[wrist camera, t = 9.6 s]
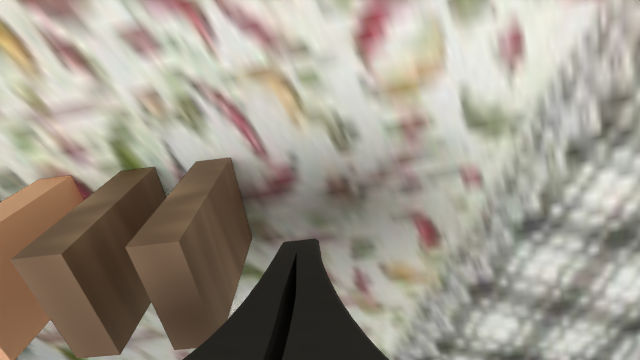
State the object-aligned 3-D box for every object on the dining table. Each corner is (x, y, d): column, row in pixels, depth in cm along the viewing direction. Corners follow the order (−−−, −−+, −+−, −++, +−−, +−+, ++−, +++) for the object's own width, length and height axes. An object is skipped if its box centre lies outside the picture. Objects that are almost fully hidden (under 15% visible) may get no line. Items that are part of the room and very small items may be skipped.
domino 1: (71, 175, 18) (-67, 265, 11) (110, 251, 20) (12, 362, 14) (38, 179, 18) (-116, 271, 12) (81, 254, 20) (-29, 366, 14)
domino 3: (230, 157, 17) (178, 241, 11) (252, 237, 19) (219, 345, 13) (196, 161, 17) (125, 247, 11) (221, 241, 20) (174, 349, 13)
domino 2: (154, 166, 17) (60, 254, 11) (184, 245, 20) (120, 354, 13) (121, 170, 18) (10, 259, 11) (154, 248, 20) (77, 358, 13)
